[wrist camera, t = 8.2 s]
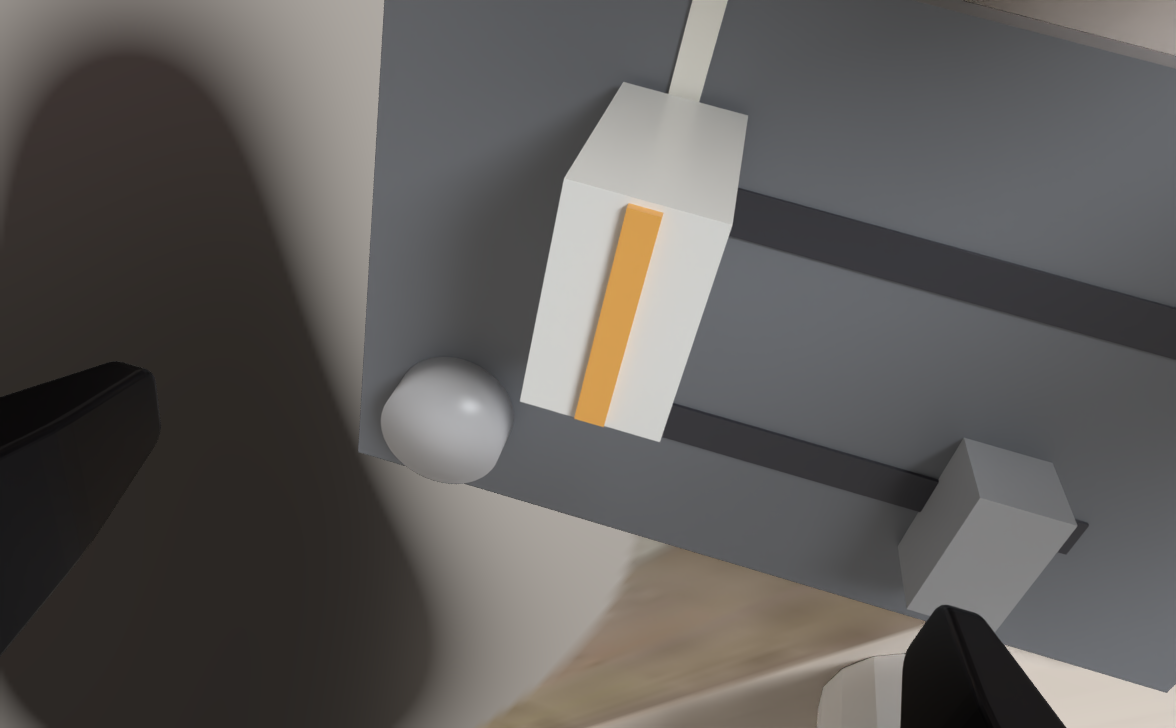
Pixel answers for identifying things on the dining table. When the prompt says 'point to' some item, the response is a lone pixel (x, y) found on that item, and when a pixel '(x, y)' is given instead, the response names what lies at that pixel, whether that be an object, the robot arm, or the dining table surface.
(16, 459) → the robot arm
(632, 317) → the fader
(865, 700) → the white cup
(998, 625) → the console
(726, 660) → the dining table surface
